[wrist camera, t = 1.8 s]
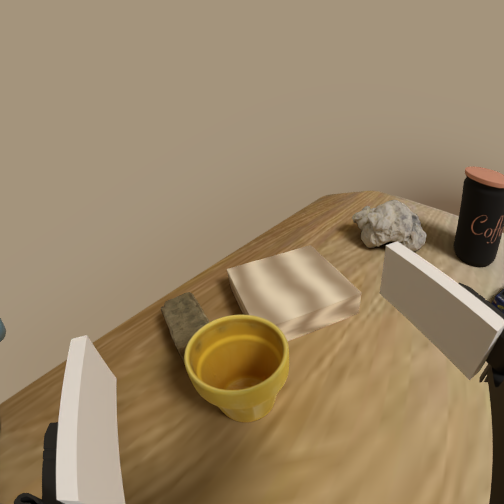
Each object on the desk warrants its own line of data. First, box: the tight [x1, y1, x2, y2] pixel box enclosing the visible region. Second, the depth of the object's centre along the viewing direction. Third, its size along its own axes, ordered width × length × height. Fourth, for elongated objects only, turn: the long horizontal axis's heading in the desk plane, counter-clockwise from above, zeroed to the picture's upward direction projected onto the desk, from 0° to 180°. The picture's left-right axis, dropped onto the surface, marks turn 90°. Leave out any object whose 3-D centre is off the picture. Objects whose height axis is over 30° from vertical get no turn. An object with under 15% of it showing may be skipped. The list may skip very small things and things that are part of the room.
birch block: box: [227, 245, 361, 341], centre depth 46 cm, size 16×16×4 cm
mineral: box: [352, 200, 426, 251], centre depth 56 cm, size 12×17×10 cm
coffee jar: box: [454, 167, 504, 267], centre depth 44 cm, size 11×11×18 cm
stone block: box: [161, 292, 210, 362], centre depth 41 cm, size 6×12×5 cm, turn 29°
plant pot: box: [184, 315, 289, 422], centre depth 30 cm, size 10×10×10 cm
